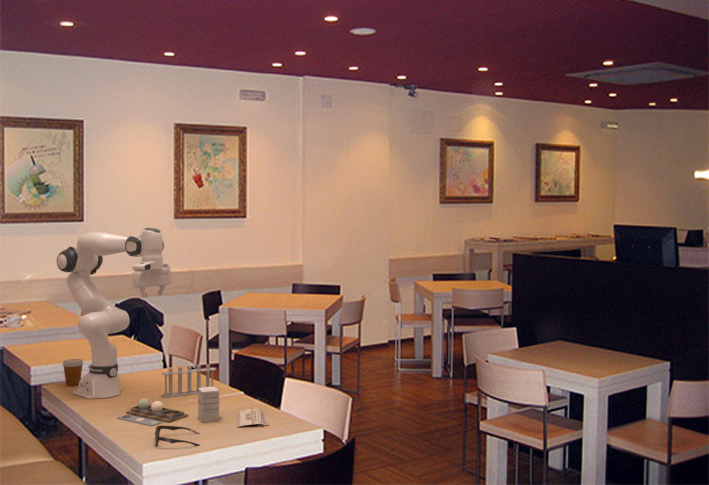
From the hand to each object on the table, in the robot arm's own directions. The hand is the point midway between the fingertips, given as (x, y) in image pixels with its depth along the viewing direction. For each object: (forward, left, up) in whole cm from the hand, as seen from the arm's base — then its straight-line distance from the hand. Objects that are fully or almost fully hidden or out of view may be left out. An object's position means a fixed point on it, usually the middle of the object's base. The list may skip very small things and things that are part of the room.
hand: (152, 296), depth 310 cm
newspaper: (+51, +6, -49) cm, 71 cm away
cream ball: (+14, -11, -45) cm, 48 cm away
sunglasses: (+45, -31, -48) cm, 73 cm away
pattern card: (+14, -21, -48) cm, 54 cm away
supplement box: (+36, -4, -48) cm, 60 cm away
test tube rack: (+1, +22, -48) cm, 53 cm away
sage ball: (+6, -11, -45) cm, 46 cm away
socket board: (+14, -11, -48) cm, 51 cm away
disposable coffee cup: (-58, +4, -48) cm, 75 cm away
